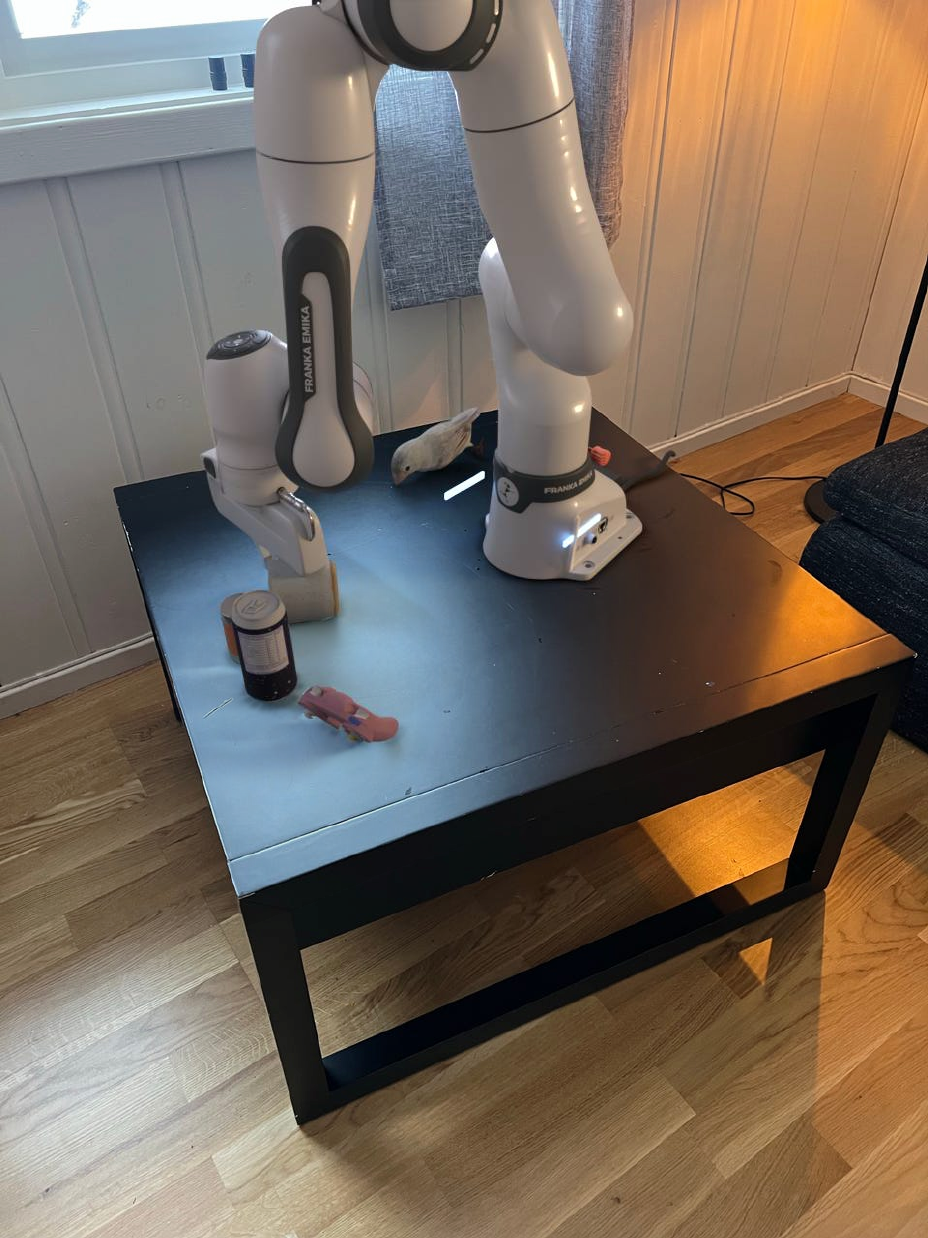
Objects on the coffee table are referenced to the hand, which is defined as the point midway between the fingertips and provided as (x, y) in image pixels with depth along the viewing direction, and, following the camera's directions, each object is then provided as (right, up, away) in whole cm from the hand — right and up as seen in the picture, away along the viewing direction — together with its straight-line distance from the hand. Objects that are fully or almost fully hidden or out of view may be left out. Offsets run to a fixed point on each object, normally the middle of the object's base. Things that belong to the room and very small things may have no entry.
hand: (275, 570), depth 116 cm
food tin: (-1, -10, -9) cm, 13 cm away
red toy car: (+11, -18, -18) cm, 28 cm away
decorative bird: (+19, +16, +24) cm, 35 cm away
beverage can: (+2, -14, -13) cm, 20 cm away
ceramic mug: (+4, -5, -2) cm, 7 cm away
